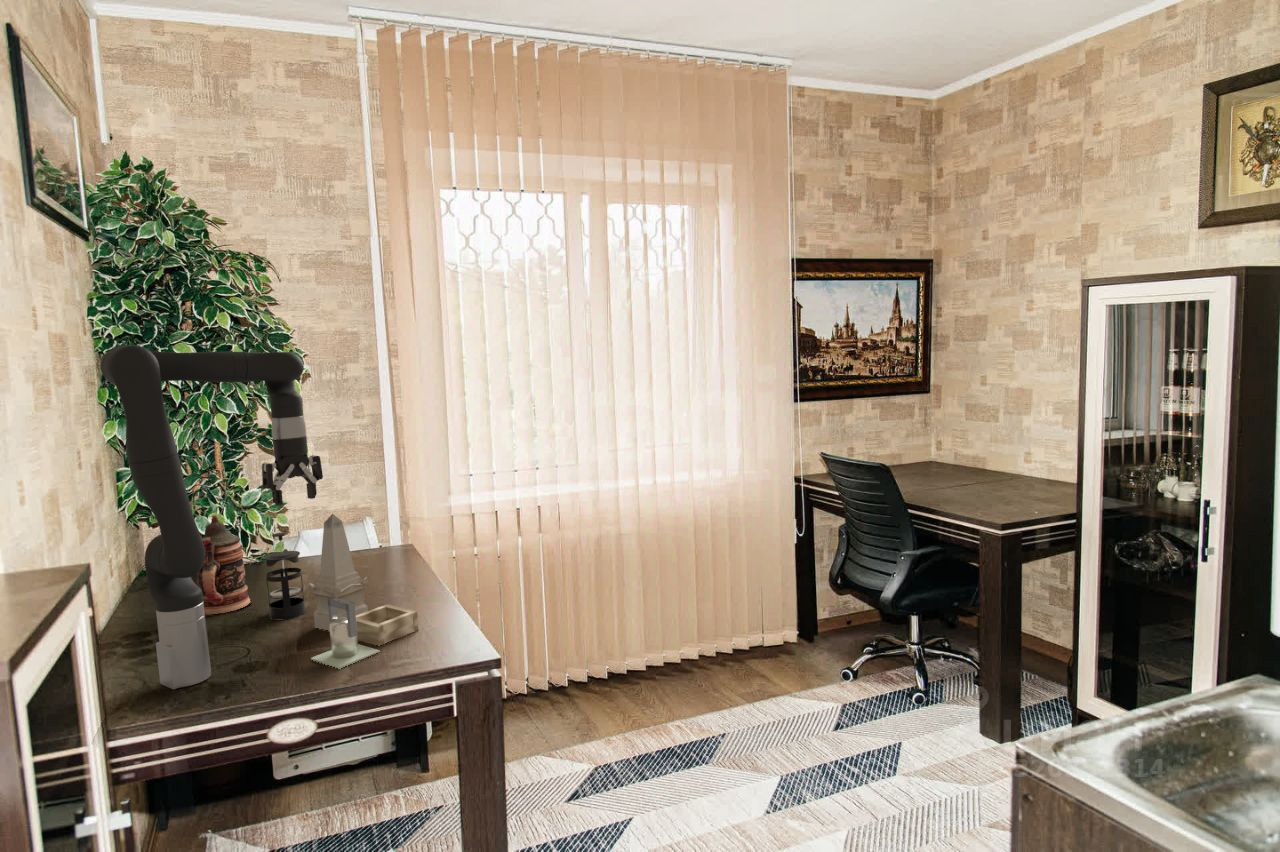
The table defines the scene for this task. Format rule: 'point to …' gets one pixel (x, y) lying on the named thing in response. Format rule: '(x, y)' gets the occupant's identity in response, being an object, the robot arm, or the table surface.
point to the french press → (284, 585)
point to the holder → (385, 624)
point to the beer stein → (222, 571)
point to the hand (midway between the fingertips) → (295, 501)
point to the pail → (343, 629)
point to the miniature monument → (336, 575)
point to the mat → (340, 663)
